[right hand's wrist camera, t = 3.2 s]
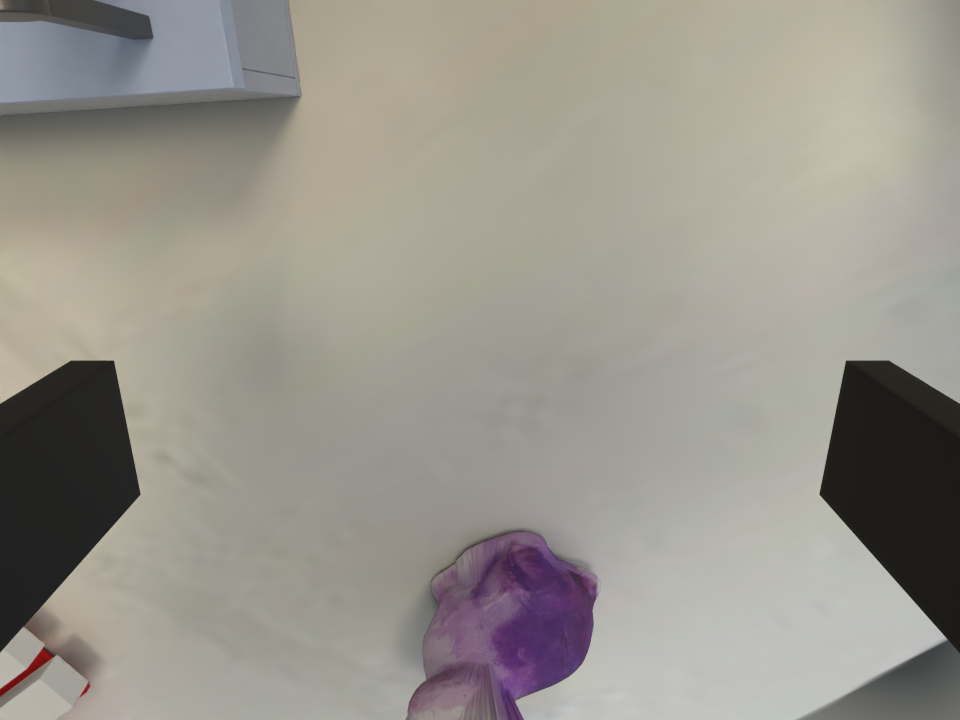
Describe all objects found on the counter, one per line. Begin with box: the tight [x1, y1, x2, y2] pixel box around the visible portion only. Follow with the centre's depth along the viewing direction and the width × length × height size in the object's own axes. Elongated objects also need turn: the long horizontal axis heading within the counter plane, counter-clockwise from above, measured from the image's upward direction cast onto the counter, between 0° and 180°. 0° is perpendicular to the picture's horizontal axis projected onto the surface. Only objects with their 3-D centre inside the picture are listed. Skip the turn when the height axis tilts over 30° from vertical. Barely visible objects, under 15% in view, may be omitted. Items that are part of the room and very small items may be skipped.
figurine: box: [406, 531, 601, 720], centre depth 37 cm, size 9×10×15 cm
